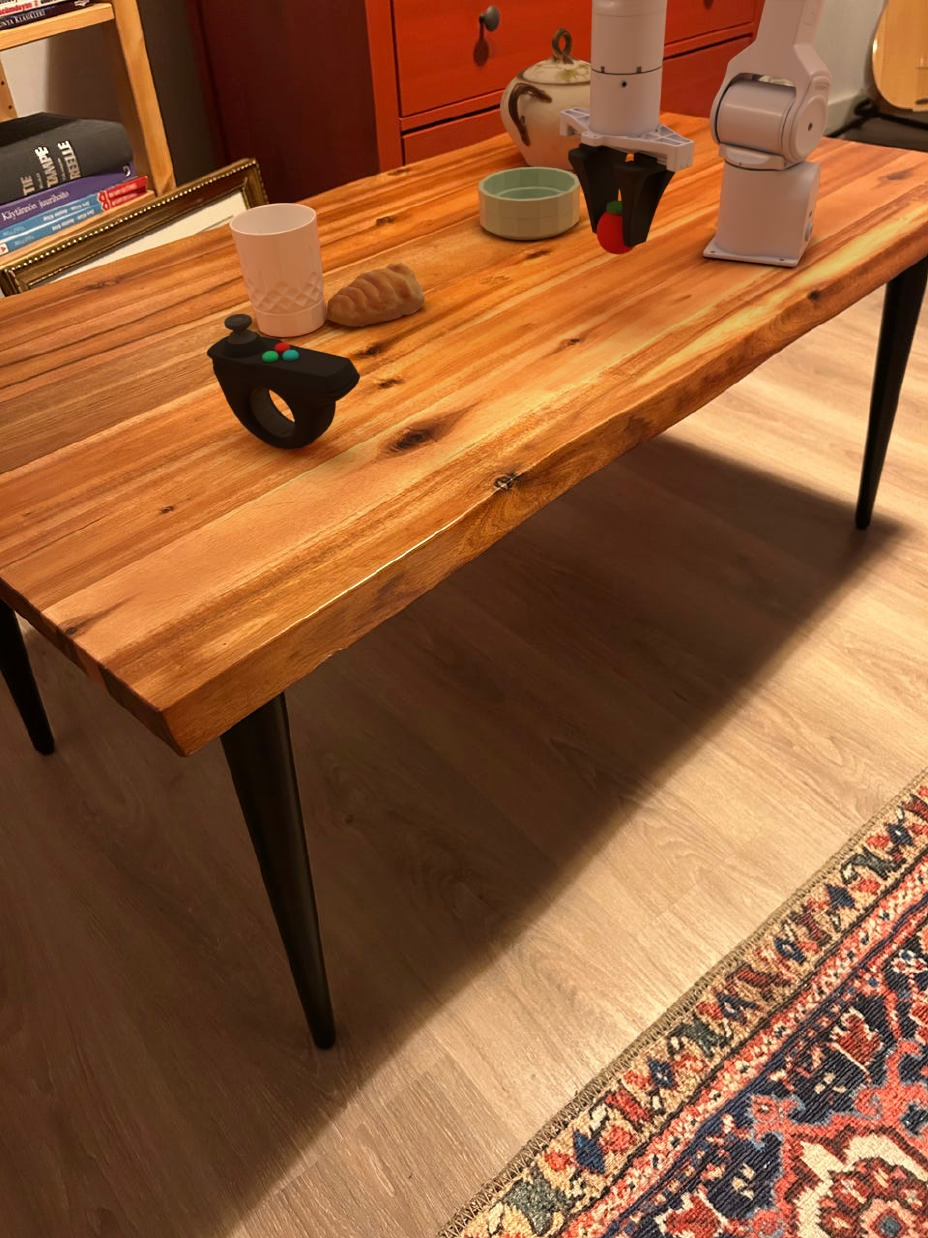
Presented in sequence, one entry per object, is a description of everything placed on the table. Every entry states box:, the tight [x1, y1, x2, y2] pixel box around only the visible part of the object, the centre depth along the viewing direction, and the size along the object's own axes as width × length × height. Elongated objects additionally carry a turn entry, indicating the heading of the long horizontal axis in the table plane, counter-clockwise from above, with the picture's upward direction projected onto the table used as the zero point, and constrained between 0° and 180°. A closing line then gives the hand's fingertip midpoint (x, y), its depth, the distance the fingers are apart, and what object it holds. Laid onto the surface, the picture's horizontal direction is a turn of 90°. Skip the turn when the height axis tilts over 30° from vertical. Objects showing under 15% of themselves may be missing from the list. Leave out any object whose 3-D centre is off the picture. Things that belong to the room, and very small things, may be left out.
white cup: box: [228, 202, 328, 338], centre depth 91 cm, size 8×8×10 cm
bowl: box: [477, 166, 581, 241], centre depth 109 cm, size 11×11×4 cm
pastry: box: [326, 262, 425, 329], centre depth 94 cm, size 9×7×4 cm
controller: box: [206, 313, 361, 451], centre depth 74 cm, size 4×12×10 cm, turn 62°
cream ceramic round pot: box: [499, 27, 591, 171], centre depth 122 cm, size 20×15×15 cm
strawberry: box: [596, 200, 636, 256], centre depth 86 cm, size 4×4×4 cm
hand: (618, 236), depth 86 cm, fingers closed on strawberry, 4 cm apart
